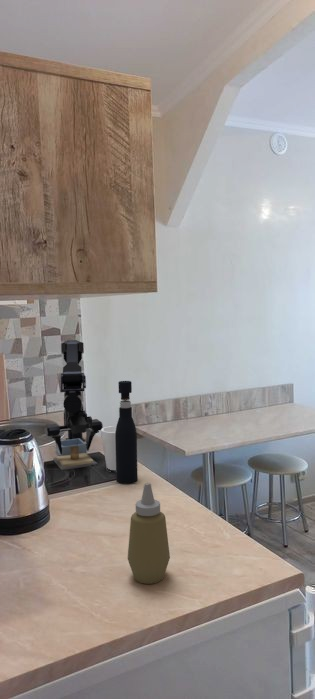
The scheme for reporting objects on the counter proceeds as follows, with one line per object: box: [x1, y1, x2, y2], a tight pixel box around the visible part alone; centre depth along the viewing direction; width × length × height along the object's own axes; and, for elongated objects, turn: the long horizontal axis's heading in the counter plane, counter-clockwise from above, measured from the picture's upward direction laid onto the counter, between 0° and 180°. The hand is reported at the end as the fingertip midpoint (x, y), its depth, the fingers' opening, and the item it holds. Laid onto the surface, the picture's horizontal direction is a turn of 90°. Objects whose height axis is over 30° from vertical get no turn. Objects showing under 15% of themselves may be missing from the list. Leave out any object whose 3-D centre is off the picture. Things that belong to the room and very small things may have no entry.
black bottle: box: [115, 380, 139, 485], centre depth 143 cm, size 6×6×30 cm
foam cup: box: [100, 425, 117, 470], centre depth 155 cm, size 10×9×13 cm
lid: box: [56, 446, 94, 467], centre depth 162 cm, size 10×10×5 cm
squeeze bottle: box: [127, 482, 171, 585], centre depth 91 cm, size 8×8×18 cm
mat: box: [53, 453, 98, 471], centre depth 162 cm, size 12×12×1 cm
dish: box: [55, 438, 88, 456], centre depth 173 cm, size 9×9×4 cm
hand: (74, 452), depth 162 cm, fingers open, 9 cm apart
